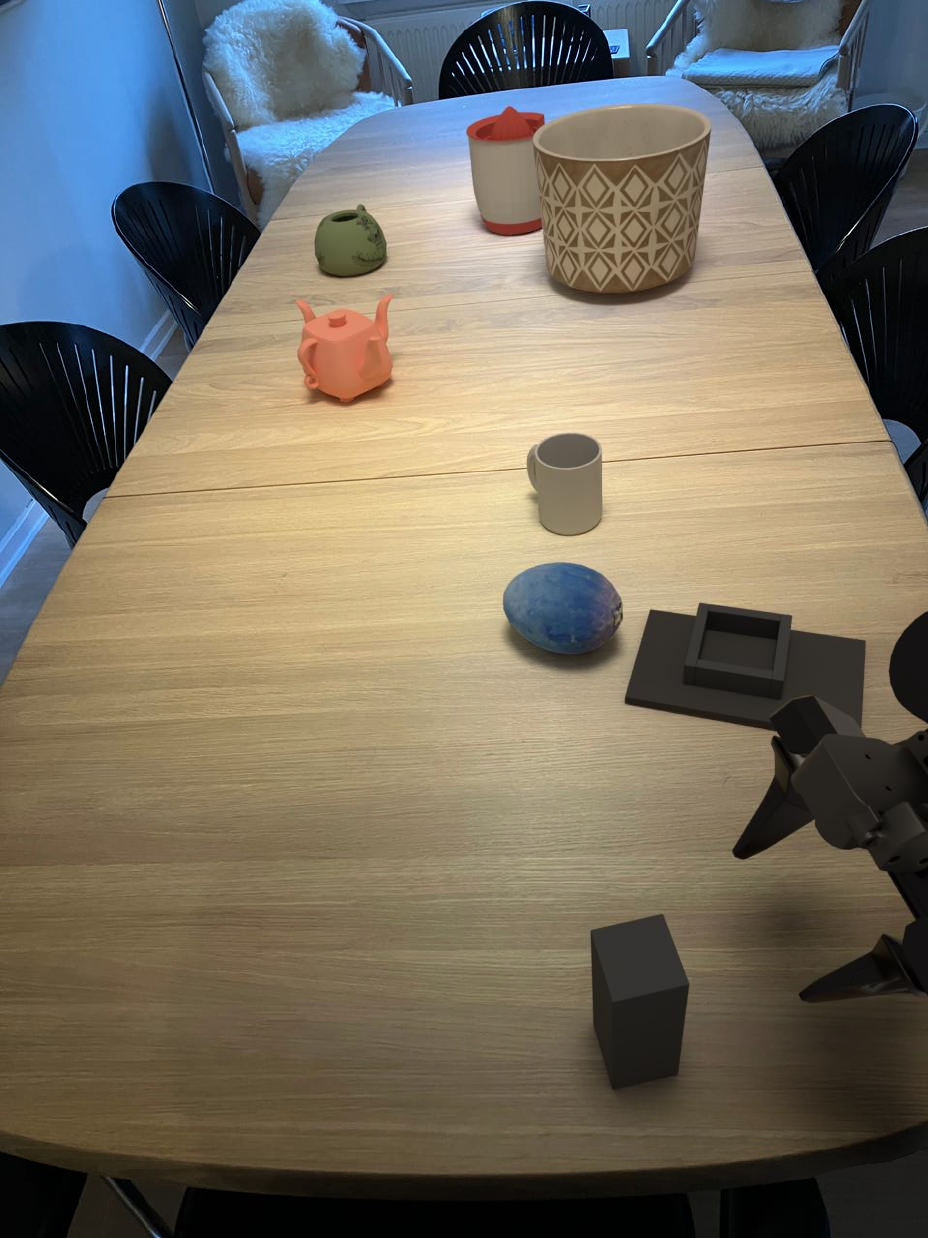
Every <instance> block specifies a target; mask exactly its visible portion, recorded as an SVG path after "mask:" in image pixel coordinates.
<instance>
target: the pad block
mask: <svg viewBox="0 0 928 1238" xmlns="http://www.w3.org/2000/svg"><path fill="white" fill-rule="evenodd" d="M590 961H591V963H590V964H591V993H592V994H591V996H592V1023H593V1027H594V1031H595V1035H596V1038H597V1041H598V1045H599V1048H600V1052H601V1056H602V1059H603V1062H604V1066H605V1070H606V1073H607V1076H608V1079H609V1083H610V1087H611V1089H612V1090H617V1089H621V1088H625V1087H629V1086H633V1085H637V1084H642V1083H646V1082H650V1081H655V1080H658V1079H662V1078H663V1079H664V1078H667V1077H671V1076H675V1075H678V1074H679V1070H680V1061H681V1055H682V1046H683V1038H684V1031H685V1029H684V1028H685V1021H686V1015H687V1007H688V998H689V991H690V982H689V979H688V976H687V973H686V971H685V968H684V966H683V963H682V960H681V957H680V954H679V952H678V950H677V947H676V944H675V941H674V939H673V935H672V933H671V931H670V928H669V926H668V923H667V920H666V918H665V915H664V913H658V914H655V915H650V916H646V917H642V918H638V919H632V920H629V921H624V922H619V923H616V924H615V923H614V924H612V925H606V926H603V927H598V928H593V929H591V930H590Z"/></svg>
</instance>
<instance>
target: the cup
mask: <svg viewBox="0 0 928 1238" xmlns="http://www.w3.org/2000/svg"><path fill="white" fill-rule="evenodd" d="M526 455H527V456H526V462H525V463H526V472H527V476H528V480H529V481H530V484H531V486H532V488H533V489H534V491H535V492H536V494H537V509H538V517H539V520H540V522H541V524H542V525H543V526H544V528H546V529H548V531H550V532H553V533H554V534H558V535H563V536H564V535H565V536H575V535H580V534H583V533H587V532H588V531H590V530H592V529H593V528H595V527H596V526H597V525H598V524H599V523H600V520H601V519H602V516H603V447H602V445H601V443H600V442H599V441H598V439H596V438H594V437H593V436H592V435H588V434H585V433H580V432H562V433H556V434H552V435H550V436H548V437H546V438H544V439H543V440H541V441H540V442H539V443H538V444H536V443H535V444H534V445H532V446H531V447H530V449H529V451H528V452H527V454H526Z"/></svg>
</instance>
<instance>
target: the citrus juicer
mask: <svg viewBox="0 0 928 1238" xmlns="http://www.w3.org/2000/svg"><path fill="white" fill-rule="evenodd" d="M545 124H546V120H545V113H541V112H535V111H534V112H532V111H518V110H517V109H516V108H515V107H513V106H511V105H508V106H506V107H505V109H504V110H503V111H502V112H501V114H496V115H491V116H488V117H484V118H482V119H479V120H477V121H474V122H473V123H471V124H470V125H469V126H467V128H466V131H465V133H466V136H467V139H468V149H469V159H470V169H471V180H472V188H473V193H474V197H475V201H476V205H477V208H478V211H479V213H480V217H481V219H482V222H483V223H484V225H485V228H486V229H487V230H488V231H491V232H492V233H496V234H500V235H501V236H510V235H518V234H526V233H529V232H533V231H536V230H538V229H543V228H542V220H541V211H540V202H539V193H538V184H537V175H536V166H535V158H534V149H533V136H534V134H535V132H536V131H537V130H538V129H539V128H540V127H542V126H543V125H545Z"/></svg>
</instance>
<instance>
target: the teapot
mask: <svg viewBox="0 0 928 1238" xmlns="http://www.w3.org/2000/svg"><path fill="white" fill-rule="evenodd" d="M393 297H394V293H389V294H387V295H385V296H383V297H382V298H381V299H380V300H379V302H378V304H377V307H376V310H375V311H376V312H375V318H374V321H373V320H372V319H371V318H370V317H368V316H367V315H365V314H363V313H360V312H357V311H355V310H351V309H348V308H338V309H335V310H332V311H330V312H327V313H325V314H323V315H320V316H317V317H316V313H314V311H313V309H312V308H311V307H310V305H309V304H308V303H307V302H306V301H304V300H302V299H296V300H295V304H296V306H298V309H299V310H300V311H301V314H302V316H303V319H304V324H303V326H302V330H301V331H302V332H301V339H300V340H301V342H300V345H299V346H298V348H297V351H296V355H297V359H298V362H299V364H300V365H301V366H302V370H303V372H304V375H305V376H304V378H303V384H304V386H305V387H306V389H310V390H315V389H316V388H317V389H318V390H319V391H321V392H323V393H325V394H328V395H329V396H330V395H331V396H333V397H336V398H339V402H341V403H349V402H352V401H354V400H355V398H356V397H357V396H359V395H362V394H364V393H366V392H368V391H370V390H372V389H374V388H379V387H382V386H383V385H384V384H385V382H386V381H388V380H390V377H391V375H392V370H393V362H392V357H391V353H390V351H389V348H388V345H387V342H388V340H389V322H388V308H389V305H390V302H391V300H392V299H393Z"/></svg>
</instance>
